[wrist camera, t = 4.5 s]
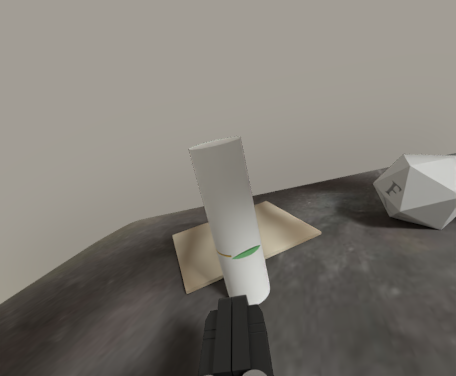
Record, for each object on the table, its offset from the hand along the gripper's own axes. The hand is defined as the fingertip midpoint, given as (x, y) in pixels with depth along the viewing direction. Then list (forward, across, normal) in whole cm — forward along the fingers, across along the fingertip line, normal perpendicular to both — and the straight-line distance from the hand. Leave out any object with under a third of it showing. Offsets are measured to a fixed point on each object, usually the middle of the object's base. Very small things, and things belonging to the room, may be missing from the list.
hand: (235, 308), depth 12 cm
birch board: (+19, +1, +7) cm, 20 cm away
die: (+16, -22, +7) cm, 28 cm away
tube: (+8, 0, +7) cm, 11 cm away
